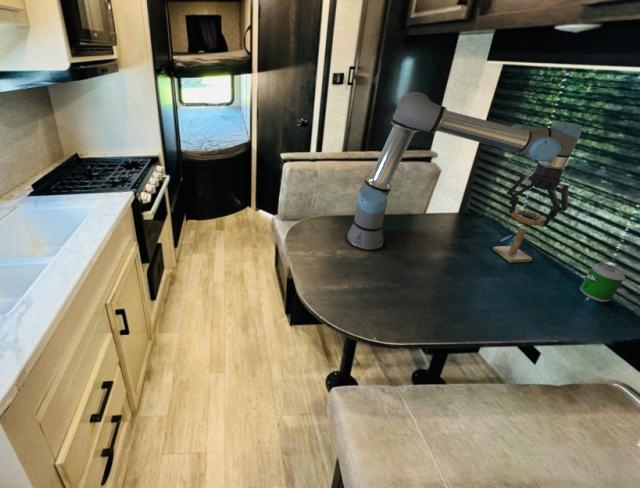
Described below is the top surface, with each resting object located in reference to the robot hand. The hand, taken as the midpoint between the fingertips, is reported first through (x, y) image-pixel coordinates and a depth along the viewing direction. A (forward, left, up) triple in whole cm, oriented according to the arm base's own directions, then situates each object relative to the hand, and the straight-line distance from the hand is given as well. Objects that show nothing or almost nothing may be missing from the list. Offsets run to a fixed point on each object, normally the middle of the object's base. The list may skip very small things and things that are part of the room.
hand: (528, 217), depth 124 cm
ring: (0, 0, 0) cm, 0 cm away
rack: (0, 0, -18) cm, 18 cm away
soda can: (+24, +9, -19) cm, 32 cm away
